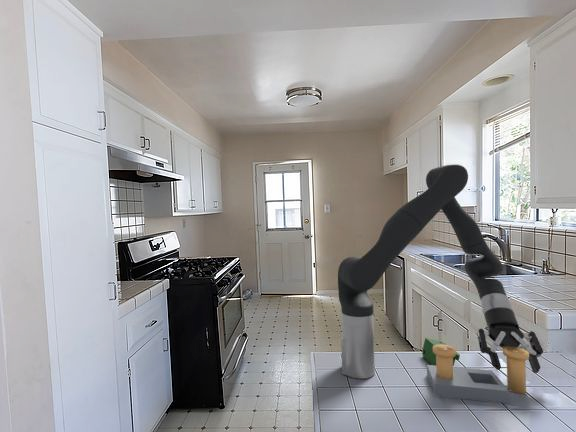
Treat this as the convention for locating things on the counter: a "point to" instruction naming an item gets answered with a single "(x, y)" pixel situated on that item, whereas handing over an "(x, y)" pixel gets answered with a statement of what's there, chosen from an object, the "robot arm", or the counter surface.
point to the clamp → (428, 351)
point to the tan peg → (516, 368)
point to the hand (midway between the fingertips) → (517, 370)
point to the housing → (463, 379)
